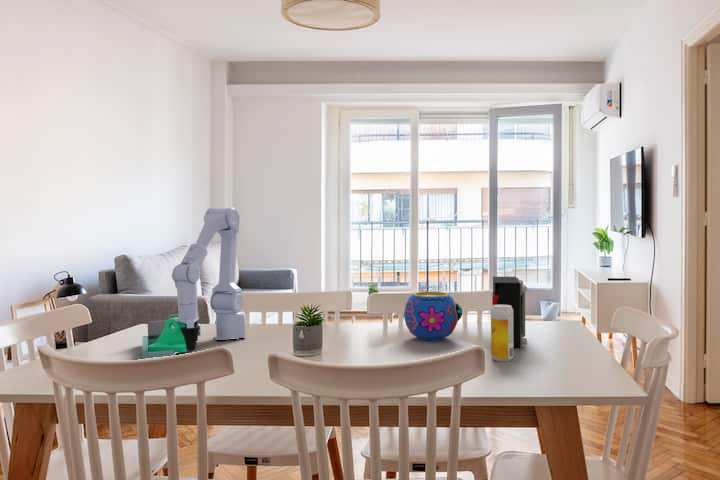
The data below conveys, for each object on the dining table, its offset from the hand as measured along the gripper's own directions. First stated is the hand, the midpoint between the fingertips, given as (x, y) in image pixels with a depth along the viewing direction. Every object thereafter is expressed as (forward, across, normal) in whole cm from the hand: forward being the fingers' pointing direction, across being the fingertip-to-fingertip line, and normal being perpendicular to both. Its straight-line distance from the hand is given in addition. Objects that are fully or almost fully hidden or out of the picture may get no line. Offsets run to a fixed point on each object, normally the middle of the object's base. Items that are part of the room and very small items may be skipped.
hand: (190, 347), depth 172 cm
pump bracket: (+1, 0, -9) cm, 9 cm away
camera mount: (+2, -1, -5) cm, 6 cm away
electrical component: (+4, +29, +95) cm, 99 cm away
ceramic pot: (+3, +15, +75) cm, 76 cm away
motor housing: (+1, -13, -4) cm, 14 cm away
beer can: (+3, +46, +80) cm, 93 cm away
